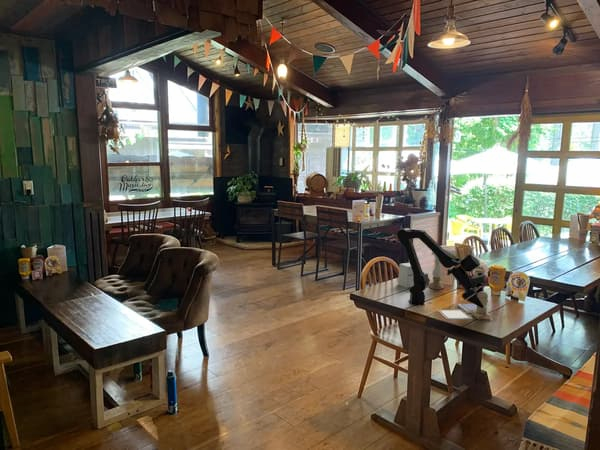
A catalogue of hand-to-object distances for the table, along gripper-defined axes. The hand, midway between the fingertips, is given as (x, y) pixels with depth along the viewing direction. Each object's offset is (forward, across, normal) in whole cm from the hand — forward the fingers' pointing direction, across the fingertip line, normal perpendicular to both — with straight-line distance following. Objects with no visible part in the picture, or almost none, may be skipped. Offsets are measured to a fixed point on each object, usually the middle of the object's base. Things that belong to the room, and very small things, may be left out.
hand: (485, 304), depth 204 cm
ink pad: (0, +9, +10) cm, 13 cm away
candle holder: (-18, +34, +28) cm, 48 cm away
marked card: (-4, -4, +14) cm, 15 cm away
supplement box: (-29, +26, +38) cm, 55 cm away
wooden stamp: (+4, 0, +6) cm, 7 cm away
